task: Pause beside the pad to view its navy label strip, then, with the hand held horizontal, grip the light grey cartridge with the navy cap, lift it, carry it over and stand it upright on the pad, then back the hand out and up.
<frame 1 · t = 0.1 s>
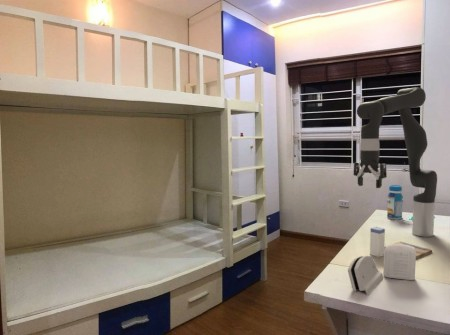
hand: (369, 186, 140), 29 cm above the table, tool pointing down, fingers open, 8 cm apart
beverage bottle: (394, 218, 200), on the table
handheld game console: (421, 219, 197), on the table
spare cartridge: (377, 254, 140), on the table
photo printer: (398, 277, 118), on the table
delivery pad: (406, 251, 143), on the table
white black curved block: (364, 283, 114), on the table
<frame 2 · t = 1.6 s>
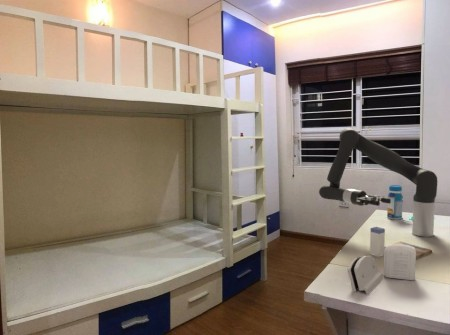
hand: (384, 202, 151), 20 cm above the table, tool horizontal, fingers open, 8 cm apart
nothing on the table moved.
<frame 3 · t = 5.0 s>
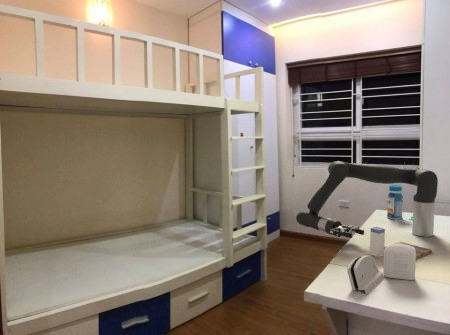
hand: (357, 234, 148), 6 cm above the table, tool horizontal, fingers open, 8 cm apart
nothing on the table moved.
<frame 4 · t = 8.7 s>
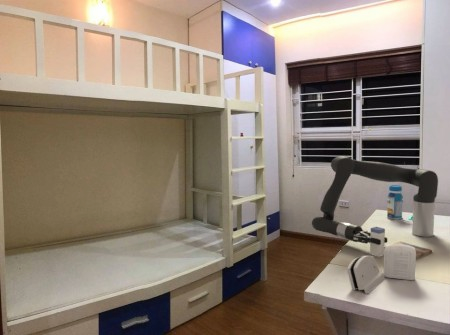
hand: (383, 241, 137), 7 cm above the table, tool horizontal, fingers closed on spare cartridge, 4 cm apart
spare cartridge: (377, 254, 140), on the table, touching gripper
everything else where it was.
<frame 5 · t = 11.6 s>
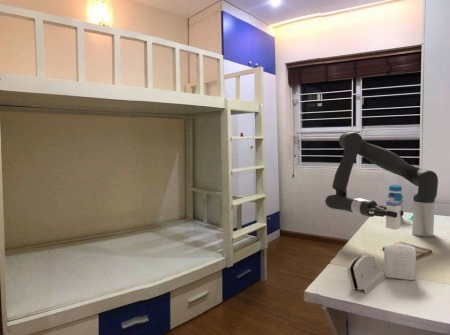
hand: (399, 214, 138), 18 cm above the table, tool horizontal, fingers closed on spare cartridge, 4 cm apart
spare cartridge: (393, 227, 140), point 11 cm above the table, touching gripper
everything else where it was.
when the fingers open (9 cm above the table, at t = 14.7 s): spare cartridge drops 1 cm, resting on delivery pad.
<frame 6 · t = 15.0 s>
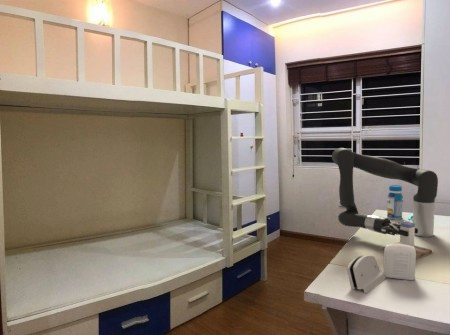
hand: (412, 232, 140), 9 cm above the table, tool horizontal, fingers open, 6 cm apart
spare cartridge: (406, 248, 143), point 1 cm above the table, touching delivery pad
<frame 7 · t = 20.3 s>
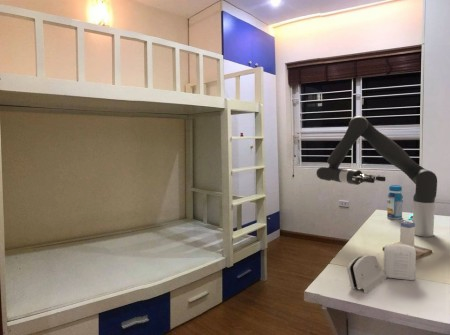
hand: (379, 179, 154), 30 cm above the table, tool horizontal, fingers open, 8 cm apart
at the end: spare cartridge inside the target area on the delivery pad (0.1 cm from its centre), point 1.2 cm above the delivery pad's base; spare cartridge tilted 0°; the gripper is holding nothing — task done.
